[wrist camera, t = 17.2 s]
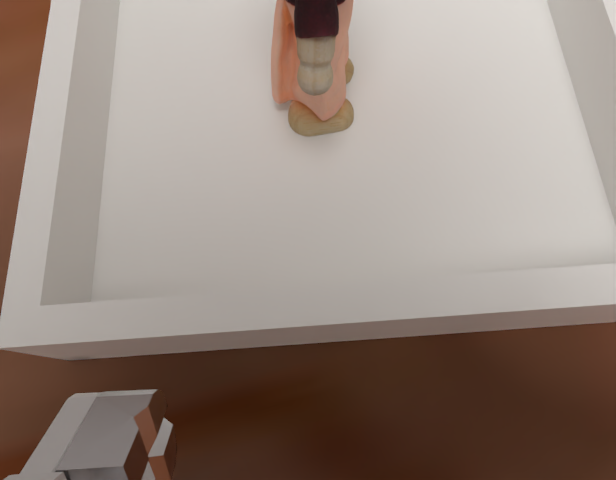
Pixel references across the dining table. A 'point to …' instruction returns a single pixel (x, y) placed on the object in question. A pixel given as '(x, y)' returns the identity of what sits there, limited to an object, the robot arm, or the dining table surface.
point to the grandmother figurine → (313, 64)
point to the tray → (313, 179)
